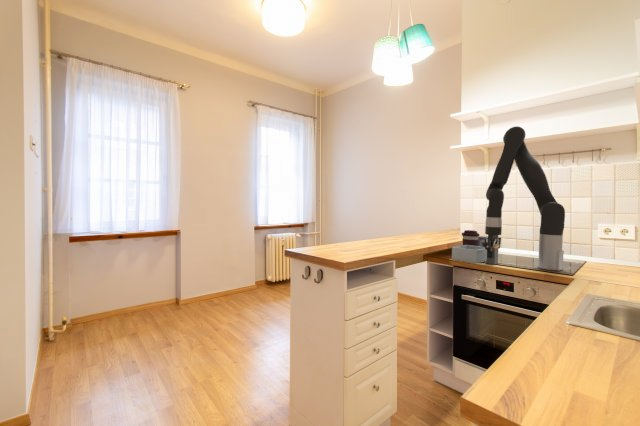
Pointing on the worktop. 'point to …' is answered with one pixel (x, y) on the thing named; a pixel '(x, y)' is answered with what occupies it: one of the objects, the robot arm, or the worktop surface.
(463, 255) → the walled box
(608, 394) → the worktop surface
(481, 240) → the small box
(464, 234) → the coffee cup
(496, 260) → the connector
